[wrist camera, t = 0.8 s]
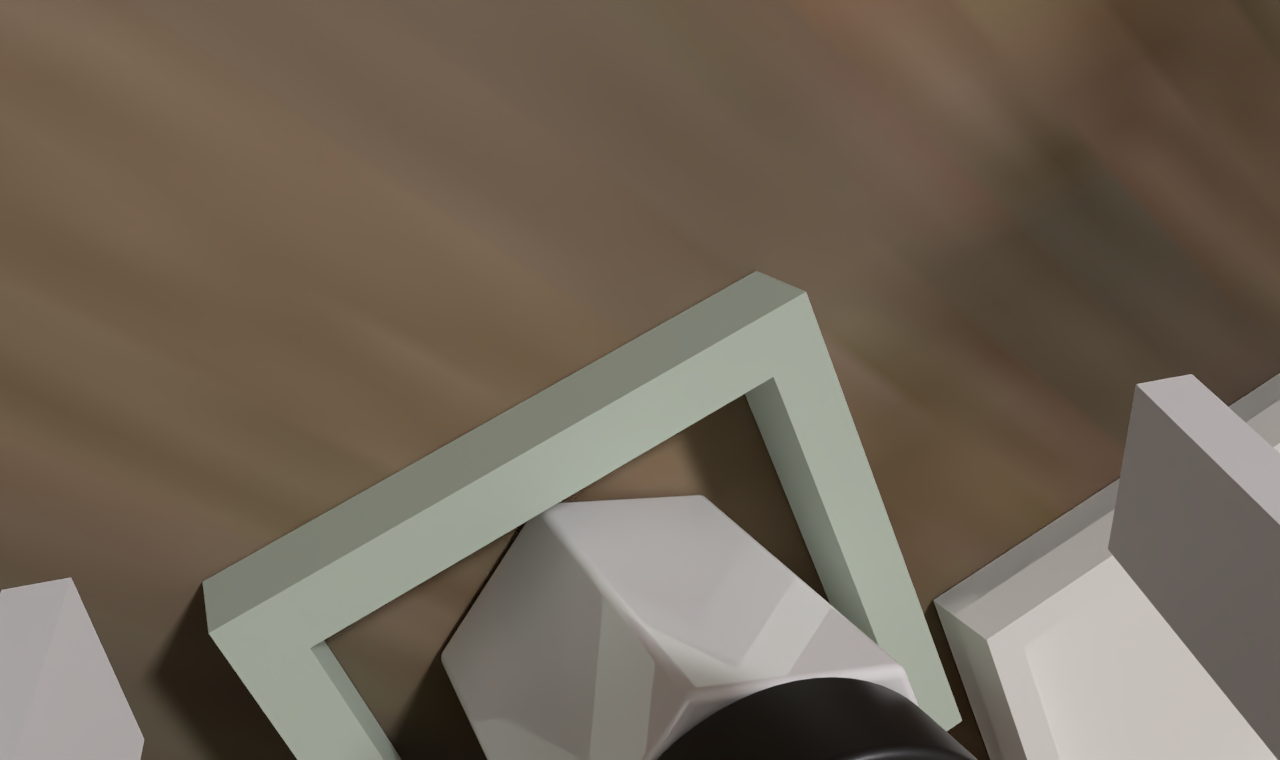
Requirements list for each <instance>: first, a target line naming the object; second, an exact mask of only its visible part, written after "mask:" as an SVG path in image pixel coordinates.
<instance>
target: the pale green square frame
mask: <svg viewBox="0 0 1280 760" xmlns="http://www.w3.org/2000/svg"><path fill="white" fill-rule="evenodd" d="M743 394H745V396H746V398H747V401H748V403H749V406H750V408H751V410H752V413H753V415H754V418H755V420H756V423H757V425H758V428H759V430H760V433H761V435H762V438H763V440H764V442H765V445H766V447H767V450H768V452H769V455H770V457H771V460H772V462H773V465H774V467H775V470H776V472H777V474H778V477H779V479H780V482H781V484H782V487H783V489H784V492H785V494H786V497H787V499H788V502H789V504H790V507H791V509H792V511H793V514H794V516H795V519H796V521H797V524H798V526H799V529H800V531H801V534H802V536H803V539H804V541H805V543H806V546H807V548H808V551H809V553H810V556H811V558H812V561H813V563H814V566H815V568H816V571H817V573H818V575H819V578H820V580H821V583H822V585H823V588H824V590H825V593H826V595H827V598H828V600H829V603H830V605H832V606H833V607H834V608H835V609H836V610H837V611H839V612H840V613H841V614H842V615H843V616H844V617H846V618H847V619H848V620H849V621H850V622H851V623H853V624H854V625H855V626H856V627H857V628H858V629H860V630H861V631H862V632H863V633H864V634H866V635H867V636H868V637H869V638H870V639H871V640H873V641H874V642H875V643H876V644H877V645H878V646H880V647H881V648H882V649H883V650H884V651H885V652H887V653H888V654H889V655H890V656H891V657H892V658H894V659H895V660H896V661H897V662H898V663H899V664H901V665H902V667H903V668H904V670H905V672H906V674H907V677H908V679H909V682H910V684H911V687H912V690H913V692H914V695H915V697H916V700H917V702H918V705H919V707H920V709H922V710H923V711H924V712H925V713H926V714H927V715H928V716H929V717H931V718H932V719H933V720H934V721H935V722H936V723H937V724H938V725H940V726H941V727H942V728H943V729H944V730H945V731H946V732H947V731H948V730H950V729H951V728H953V727H954V726H955V725H957V724H958V723H960V722H961V721H962V719H961V716H960V713H959V710H958V708H957V705H956V702H955V699H954V697H953V694H952V691H951V688H950V686H949V683H948V680H947V677H946V675H945V672H944V669H943V666H942V664H941V661H940V658H939V655H938V653H937V650H936V647H935V644H934V642H933V639H932V636H931V633H930V631H929V628H928V625H927V622H926V620H925V617H924V614H923V612H922V609H921V606H920V603H919V601H918V598H917V595H916V592H915V590H914V587H913V584H912V581H911V579H910V576H909V573H908V570H907V568H906V565H905V562H904V559H903V557H902V554H901V551H900V548H899V546H898V543H897V540H896V537H895V535H894V532H893V529H892V526H891V524H890V521H889V518H888V515H887V513H886V510H885V507H884V505H883V502H882V499H881V496H880V494H879V491H878V488H877V485H876V483H875V480H874V477H873V474H872V472H871V469H870V466H869V463H868V461H867V458H866V455H865V452H864V450H863V447H862V444H861V441H860V439H859V436H858V433H857V430H856V428H855V425H854V422H853V419H852V417H851V414H850V411H849V408H848V406H847V403H846V400H845V398H844V395H843V392H842V389H841V387H840V384H839V381H838V378H837V376H836V373H835V370H834V367H833V365H832V362H831V359H830V356H829V354H828V351H827V348H826V345H825V343H824V340H823V337H822V334H821V332H820V329H819V326H818V323H817V321H816V318H815V315H814V312H813V310H812V307H811V304H810V301H809V299H808V296H807V293H806V292H805V291H803V290H801V289H798V288H796V287H793V286H791V285H789V284H786V283H784V282H782V281H779V280H777V279H774V278H772V277H770V276H767V275H765V274H763V273H760V272H758V271H755V272H753V273H752V274H750V275H748V276H746V277H745V278H743V279H741V280H739V281H737V282H736V283H734V284H732V285H730V286H728V287H727V288H725V289H723V290H721V291H720V292H718V293H716V294H714V295H712V296H711V297H709V298H707V299H705V300H704V301H702V302H700V303H698V304H696V305H695V306H693V307H691V308H689V309H688V310H686V311H684V312H682V313H680V314H679V315H677V316H675V317H673V318H671V319H670V320H668V321H666V322H664V323H663V324H661V325H659V326H657V327H655V328H654V329H652V330H650V331H648V332H647V333H645V334H643V335H641V336H639V337H638V338H636V339H634V340H632V341H630V342H629V343H627V344H625V345H623V346H622V347H620V348H618V349H616V350H614V351H613V352H611V353H609V354H607V355H606V356H604V357H602V358H600V359H598V360H597V361H595V362H593V363H591V364H590V365H588V366H586V367H584V368H582V369H581V370H579V371H577V372H575V373H573V374H572V375H570V376H568V377H566V378H565V379H563V380H561V381H559V382H557V383H556V384H554V385H552V386H550V387H549V388H547V389H545V390H543V391H541V392H540V393H538V394H536V395H534V396H533V397H531V398H529V399H527V400H525V401H524V402H522V403H520V404H518V405H516V406H515V407H513V408H511V409H509V410H508V411H506V412H504V413H502V414H500V415H499V416H497V417H495V418H493V419H492V420H490V421H488V422H486V423H484V424H483V425H481V426H479V427H477V428H476V429H474V430H472V431H470V432H468V433H467V434H465V435H463V436H461V437H459V438H458V439H456V440H454V441H452V442H451V443H449V444H447V445H445V446H443V447H442V448H440V449H438V450H436V451H435V452H433V453H431V454H429V455H427V456H426V457H424V458H422V459H420V460H418V461H417V462H415V463H413V464H411V465H410V466H408V467H406V468H404V469H402V470H401V471H399V472H397V473H395V474H394V475H392V476H390V477H388V478H386V479H385V480H383V481H381V482H379V483H378V484H376V485H374V486H372V487H370V488H369V489H367V490H365V491H363V492H361V493H360V494H358V495H356V496H354V497H353V498H351V499H349V500H347V501H345V502H344V503H342V504H340V505H338V506H337V507H335V508H333V509H331V510H329V511H328V512H326V513H324V514H322V515H321V516H319V517H317V518H315V519H313V520H312V521H310V522H308V523H306V524H304V525H303V526H301V527H299V528H297V529H296V530H294V531H292V532H290V533H288V534H287V535H285V536H283V537H281V538H280V539H278V540H276V541H274V542H272V543H271V544H269V545H267V546H265V547H263V548H262V549H260V550H258V551H256V552H255V553H253V554H251V555H249V556H247V557H246V558H244V559H242V560H240V561H239V562H237V563H235V564H233V565H231V566H230V567H228V568H226V569H224V570H223V571H221V572H219V573H217V574H215V575H214V576H212V577H210V578H208V579H206V580H205V581H203V590H204V599H205V608H206V616H207V625H208V633H209V635H210V636H211V638H212V639H213V640H214V642H215V643H216V645H217V646H218V648H219V649H220V650H221V652H222V653H223V655H224V656H225V657H226V659H227V660H228V662H229V663H230V665H231V666H232V667H233V669H234V670H235V672H236V673H237V675H238V676H239V677H240V679H241V680H242V682H243V683H244V685H245V686H246V687H247V689H248V690H249V692H250V693H251V694H252V696H253V697H254V699H255V700H256V702H257V703H258V704H259V706H260V707H261V709H262V710H263V712H264V713H265V714H266V716H267V717H268V719H269V720H270V721H271V723H272V724H273V726H274V727H275V729H276V730H277V731H278V733H279V734H280V736H281V737H282V739H283V740H284V741H285V743H286V744H287V746H288V747H289V749H290V750H291V751H292V753H293V754H294V756H295V757H296V758H297V760H402V759H401V758H400V756H399V755H398V753H397V752H396V750H395V748H394V747H393V745H392V744H391V742H390V741H389V739H388V738H387V736H386V735H385V733H384V732H383V730H382V728H381V727H380V725H379V724H378V722H377V721H376V719H375V718H374V716H373V715H372V713H371V712H370V710H369V709H368V707H367V705H366V704H365V702H364V701H363V699H362V698H361V696H360V695H359V693H358V692H357V690H356V689H355V687H354V685H353V684H352V682H351V681H350V679H349V678H348V676H347V675H346V673H345V672H344V670H343V669H342V667H341V665H340V664H339V662H338V661H337V659H336V658H335V656H334V655H333V653H332V652H331V650H330V649H329V647H328V646H327V644H326V642H325V641H324V640H325V639H327V638H328V637H330V636H332V635H334V634H335V633H337V632H339V631H340V630H342V629H344V628H345V627H347V626H349V625H351V624H352V623H354V622H356V621H357V620H359V619H361V618H363V617H364V616H366V615H368V614H369V613H371V612H373V611H375V610H376V609H378V608H380V607H381V606H383V605H385V604H386V603H388V602H390V601H392V600H393V599H395V598H397V597H398V596H400V595H402V594H404V593H405V592H407V591H409V590H410V589H412V588H414V587H415V586H417V585H419V584H421V583H422V582H424V581H426V580H427V579H429V578H431V577H433V576H434V575H436V574H438V573H439V572H441V571H443V570H445V569H446V568H448V567H450V566H451V565H453V564H455V563H456V562H458V561H460V560H462V559H463V558H465V557H467V556H468V555H470V554H472V553H474V552H475V551H477V550H479V549H480V548H482V547H484V546H485V545H487V544H489V543H491V542H492V541H494V540H496V539H497V538H499V537H501V536H503V535H504V534H506V533H508V532H509V531H511V530H513V529H515V528H516V527H518V526H520V525H521V524H523V523H525V522H526V521H528V520H530V519H532V518H533V517H535V516H537V515H538V514H540V513H542V512H544V511H545V510H547V509H549V508H550V507H552V506H554V505H555V504H557V503H559V502H561V501H562V500H564V499H566V498H567V497H569V496H571V495H573V494H574V493H576V492H578V491H579V490H581V489H583V488H584V487H586V486H588V485H590V484H591V483H593V482H595V481H596V480H598V479H600V478H602V477H603V476H605V475H607V474H608V473H610V472H612V471H614V470H615V469H617V468H619V467H620V466H622V465H624V464H625V463H627V462H629V461H631V460H632V459H634V458H636V457H637V456H639V455H641V454H643V453H644V452H646V451H648V450H649V449H651V448H653V447H654V446H656V445H658V444H660V443H661V442H663V441H665V440H666V439H668V438H670V437H672V436H673V435H675V434H677V433H678V432H680V431H682V430H684V429H685V428H687V427H689V426H690V425H692V424H694V423H695V422H697V421H699V420H701V419H702V418H704V417H706V416H707V415H709V414H711V413H713V412H714V411H716V410H718V409H719V408H721V407H723V406H724V405H726V404H728V403H730V402H731V401H733V400H735V399H736V398H738V397H740V396H742V395H743Z"/></svg>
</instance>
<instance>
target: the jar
mask: <svg viewBox="0 0 1280 760" xmlns="http://www.w3.org/2000/svg"><path fill="white" fill-rule="evenodd" d="M441 662H442V664H443V666H444V669H445V671H446V673H447V675H448V677H449V679H450V681H451V684H452V686H453V688H454V690H455V692H456V694H457V696H458V698H459V701H460V703H461V705H462V707H463V709H464V711H465V713H466V716H467V718H468V720H469V722H470V724H471V726H472V728H473V731H474V733H475V735H476V737H477V739H478V741H479V743H480V746H481V748H482V750H483V752H484V754H485V756H486V758H487V760H978V759H977V758H975V757H974V756H973V755H972V754H971V753H970V752H969V751H968V750H966V749H965V748H964V747H963V746H962V745H961V744H960V743H959V742H957V741H956V740H955V739H954V738H953V737H952V736H951V735H950V734H949V733H947V732H946V731H945V730H944V729H943V728H942V727H941V726H940V725H938V724H937V723H936V722H935V721H934V720H933V719H932V718H931V717H929V716H928V715H927V714H926V713H925V712H924V711H923V710H922V709H920V707H919V705H918V702H917V700H916V697H915V695H914V692H913V690H912V687H911V684H910V682H909V679H908V677H907V674H906V672H905V670H904V668H903V667H902V665H901V664H899V663H898V662H897V661H896V660H895V659H894V658H892V657H891V656H890V655H889V654H888V653H887V652H885V651H884V650H883V649H882V648H881V647H880V646H878V645H877V644H876V643H875V642H874V641H873V640H871V639H870V638H869V637H868V636H867V635H866V634H864V633H863V632H862V631H861V630H860V629H858V628H857V627H856V626H855V625H854V624H853V623H851V622H850V621H849V620H848V619H847V618H846V617H844V616H843V615H842V614H841V613H840V612H839V611H837V610H836V609H835V608H834V607H833V606H832V605H830V604H829V603H828V602H827V601H826V600H825V599H823V598H822V597H821V596H820V595H819V594H818V593H816V592H815V591H814V590H813V589H812V588H811V587H810V586H808V585H807V584H806V583H805V582H804V581H803V580H801V579H800V578H799V577H798V576H797V575H796V574H794V573H793V572H792V571H791V570H790V569H789V568H787V567H786V566H785V565H784V564H783V563H782V562H780V561H779V560H778V559H777V558H776V557H775V556H773V555H772V554H771V553H770V552H769V551H768V550H766V549H765V548H764V547H763V546H762V545H761V544H759V543H758V542H757V541H756V540H755V539H754V538H752V537H751V536H750V535H749V534H748V533H747V532H745V531H744V530H743V529H742V528H741V527H740V526H738V525H737V524H736V523H735V522H734V521H733V520H731V519H730V518H729V517H728V516H727V515H726V514H724V513H723V512H722V511H721V510H720V509H719V508H717V507H716V506H715V505H714V504H713V503H712V502H710V501H709V500H708V499H707V498H706V497H704V496H701V495H690V496H672V497H654V498H636V499H618V500H600V501H583V502H565V503H557V504H555V505H554V506H552V507H550V508H549V509H547V510H545V511H544V512H542V513H540V514H538V515H537V516H535V517H533V518H532V519H530V520H528V521H527V522H526V523H525V525H524V526H523V528H522V530H521V531H520V533H519V534H518V536H517V537H516V539H515V540H514V542H513V544H512V545H511V547H510V548H509V550H508V551H507V553H506V554H505V556H504V557H503V559H502V561H501V562H500V564H499V565H498V567H497V568H496V570H495V571H494V573H493V574H492V576H491V578H490V579H489V581H488V582H487V584H486V585H485V587H484V588H483V590H482V591H481V593H480V595H479V596H478V598H477V599H476V601H475V602H474V604H473V605H472V607H471V609H470V610H469V612H468V613H467V615H466V616H465V618H464V619H463V621H462V622H461V624H460V626H459V627H458V629H457V630H456V632H455V633H454V635H453V636H452V638H451V639H450V641H449V643H448V644H447V646H446V647H445V649H444V650H443V652H442V654H441Z"/></svg>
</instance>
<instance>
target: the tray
mask: <svg viewBox="0 0 1280 760" xmlns="http://www.w3.org/2000/svg"><path fill="white" fill-rule="evenodd" d="M1229 408H1230V409H1231V410H1232V411H1233V412H1234V413H1235V414H1237V415H1238V416H1239V417H1240V418H1241V419H1242V420H1243V421H1244V422H1245V423H1247V424H1248V425H1249V426H1250V427H1251V428H1252V429H1253V430H1254V431H1255V432H1257V433H1258V434H1259V435H1260V436H1261V437H1262V438H1263V439H1264V440H1265V441H1267V442H1268V443H1269V444H1270V445H1271V446H1272V447H1273V448H1274V449H1275V450H1277V451H1278V452H1279V453H1280V373H1279V374H1278V375H1276V376H1275V377H1273V378H1272V379H1270V380H1268V381H1267V382H1265V383H1264V384H1262V385H1261V386H1259V387H1258V388H1256V389H1255V390H1253V391H1252V392H1250V393H1249V394H1247V395H1246V396H1244V397H1242V398H1241V399H1239V400H1238V401H1236V402H1235V403H1233V404H1232V405H1230V406H1229ZM1119 481H1120V478H1119V479H1117V480H1116V481H1114V482H1113V483H1111V484H1110V485H1108V486H1107V487H1105V488H1104V489H1102V490H1101V491H1099V492H1097V493H1096V494H1094V495H1093V496H1091V497H1090V498H1088V499H1087V500H1085V501H1084V502H1082V503H1081V504H1079V505H1078V506H1076V507H1075V508H1073V509H1072V510H1070V511H1068V512H1067V513H1065V514H1064V515H1062V516H1061V517H1059V518H1058V519H1056V520H1055V521H1053V522H1052V523H1050V524H1049V525H1047V526H1046V527H1044V528H1043V529H1041V530H1039V531H1038V532H1036V533H1035V534H1033V535H1032V536H1030V537H1029V538H1027V539H1026V540H1024V541H1023V542H1021V543H1020V544H1018V545H1017V546H1015V547H1014V548H1012V549H1010V550H1009V551H1007V552H1006V553H1004V554H1003V555H1001V556H1000V557H998V558H997V559H995V560H994V561H992V562H991V563H989V564H988V565H986V566H985V567H983V568H981V569H980V570H978V571H977V572H975V573H974V574H972V575H971V576H969V577H968V578H966V579H965V580H963V581H962V582H960V583H959V584H957V585H956V586H954V587H952V588H951V589H949V590H948V591H946V592H945V593H943V594H942V595H940V596H939V597H937V598H936V599H934V600H933V601H934V604H935V607H936V610H937V612H938V615H939V618H940V621H941V624H942V626H943V629H944V632H945V635H946V638H947V640H948V643H949V646H950V649H951V652H952V654H953V657H954V660H955V663H956V666H957V668H958V671H959V674H960V677H961V680H962V682H963V685H964V688H965V691H966V694H967V696H968V699H969V702H970V705H971V708H972V710H973V713H974V716H975V719H976V722H977V724H978V727H979V730H980V733H981V735H982V738H983V741H984V744H985V747H986V749H987V752H988V755H989V758H990V760H1278V759H1277V758H1276V757H1275V756H1274V755H1273V753H1272V752H1271V751H1270V750H1269V748H1268V747H1267V746H1266V745H1265V743H1264V742H1263V741H1262V740H1261V738H1260V737H1259V736H1258V735H1257V733H1256V732H1255V731H1254V730H1253V728H1252V727H1251V726H1250V725H1249V724H1248V722H1247V721H1246V720H1245V719H1244V717H1243V716H1242V715H1241V714H1240V712H1239V711H1238V710H1237V709H1236V707H1235V706H1234V705H1233V704H1232V702H1231V701H1230V700H1229V699H1228V697H1227V696H1226V695H1225V694H1224V693H1223V691H1222V690H1221V689H1220V688H1219V686H1218V685H1217V684H1216V683H1215V681H1214V680H1213V679H1212V678H1211V676H1210V675H1209V674H1208V673H1207V671H1206V670H1205V669H1204V668H1203V666H1202V665H1201V664H1200V663H1199V662H1198V660H1197V659H1196V658H1195V657H1194V655H1193V654H1192V653H1191V652H1190V650H1189V649H1188V648H1187V647H1186V645H1185V644H1184V643H1183V642H1182V640H1181V639H1180V638H1179V637H1178V635H1177V634H1176V633H1175V632H1174V631H1173V629H1172V628H1171V627H1170V626H1169V624H1168V623H1167V622H1166V621H1165V619H1164V618H1163V617H1162V616H1161V614H1160V613H1159V612H1158V611H1157V609H1156V608H1155V607H1154V606H1153V605H1152V603H1151V602H1150V601H1149V600H1148V598H1147V597H1146V596H1145V595H1144V593H1143V592H1142V591H1141V590H1140V588H1139V587H1138V586H1137V585H1136V583H1135V582H1134V581H1133V580H1132V578H1131V577H1130V576H1129V575H1128V574H1127V572H1126V571H1125V570H1124V569H1123V567H1122V566H1121V565H1120V564H1119V562H1118V561H1117V560H1116V559H1115V557H1114V556H1113V555H1112V554H1111V552H1110V551H1109V550H1108V545H1109V539H1110V533H1111V527H1112V522H1113V516H1114V510H1115V504H1116V498H1117V492H1118V487H1119Z"/></svg>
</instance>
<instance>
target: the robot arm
mask: <svg viewBox="0 0 1280 760" xmlns="http://www.w3.org/2000/svg"><path fill="white" fill-rule="evenodd" d="M1108 550H1109V551H1110V552H1111V554H1112V555H1113V556H1114V557H1115V559H1116V560H1117V561H1118V562H1119V564H1120V565H1121V566H1122V567H1123V569H1124V570H1125V571H1126V572H1127V574H1128V575H1129V576H1130V577H1131V578H1132V580H1133V581H1134V582H1135V583H1136V585H1137V586H1138V587H1139V588H1140V590H1141V591H1142V592H1143V593H1144V595H1145V596H1146V597H1147V598H1148V600H1149V601H1150V602H1151V603H1152V605H1153V606H1154V607H1155V608H1156V609H1157V611H1158V612H1159V613H1160V614H1161V616H1162V617H1163V618H1164V619H1165V621H1166V622H1167V623H1168V624H1169V626H1170V627H1171V628H1172V629H1173V631H1174V632H1175V633H1176V634H1177V635H1178V637H1179V638H1180V639H1181V640H1182V642H1183V643H1184V644H1185V645H1186V647H1187V648H1188V649H1189V650H1190V652H1191V653H1192V654H1193V655H1194V657H1195V658H1196V659H1197V660H1198V662H1199V663H1200V664H1201V665H1202V666H1203V668H1204V669H1205V670H1206V671H1207V673H1208V674H1209V675H1210V676H1211V678H1212V679H1213V680H1214V681H1215V683H1216V684H1217V685H1218V686H1219V688H1220V689H1221V690H1222V691H1223V693H1224V694H1225V695H1226V696H1227V697H1228V699H1229V700H1230V701H1231V702H1232V704H1233V705H1234V706H1235V707H1236V709H1237V710H1238V711H1239V712H1240V714H1241V715H1242V716H1243V717H1244V719H1245V720H1246V721H1247V722H1248V724H1249V725H1250V726H1251V727H1252V728H1253V730H1254V731H1255V732H1256V733H1257V735H1258V736H1259V737H1260V738H1261V740H1262V741H1263V742H1264V743H1265V745H1266V746H1267V747H1268V748H1269V750H1270V751H1271V752H1272V753H1273V755H1274V756H1275V757H1276V758H1277V759H1278V760H1280V453H1279V452H1278V451H1277V450H1275V449H1274V448H1273V447H1272V446H1271V445H1270V444H1269V443H1268V442H1267V441H1265V440H1264V439H1263V438H1262V437H1261V436H1260V435H1259V434H1258V433H1257V432H1255V431H1254V430H1253V429H1252V428H1251V427H1250V426H1249V425H1248V424H1247V423H1245V422H1244V421H1243V420H1242V419H1241V418H1240V417H1239V416H1238V415H1237V414H1235V413H1234V412H1233V411H1232V410H1231V409H1230V408H1229V407H1228V406H1227V405H1225V404H1224V403H1223V402H1222V401H1221V400H1220V399H1219V398H1218V397H1217V396H1215V395H1214V394H1213V393H1212V392H1211V391H1210V390H1209V389H1208V388H1207V387H1205V386H1204V385H1203V384H1202V383H1201V382H1200V381H1199V380H1198V379H1197V378H1195V377H1194V376H1193V375H1192V374H1190V375H1184V376H1179V377H1173V378H1168V379H1162V380H1157V381H1151V382H1146V383H1140V384H1136V388H1135V393H1134V399H1133V405H1132V411H1131V417H1130V422H1129V428H1128V434H1127V440H1126V446H1125V452H1124V457H1123V463H1122V469H1121V475H1120V481H1119V487H1118V492H1117V498H1116V504H1115V510H1114V516H1113V522H1112V527H1111V533H1110V539H1109V545H1108ZM143 744H144V738H143V736H142V733H141V731H140V729H139V727H138V725H137V722H136V720H135V718H134V716H133V713H132V711H131V709H130V707H129V705H128V702H127V700H126V698H125V696H124V694H123V691H122V689H121V687H120V685H119V683H118V680H117V678H116V676H115V674H114V671H113V669H112V667H111V665H110V663H109V660H108V658H107V656H106V654H105V652H104V649H103V647H102V645H101V643H100V640H99V638H98V636H97V634H96V632H95V629H94V627H93V625H92V623H91V621H90V618H89V616H88V614H87V612H86V610H85V607H84V605H83V603H82V601H81V598H80V596H79V594H78V592H77V590H76V587H75V585H74V583H73V581H72V579H71V578H65V579H60V580H54V581H49V582H43V583H38V584H32V585H27V586H21V587H16V588H10V589H5V590H1V593H0V760H140V758H141V753H142V748H143Z"/></svg>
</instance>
